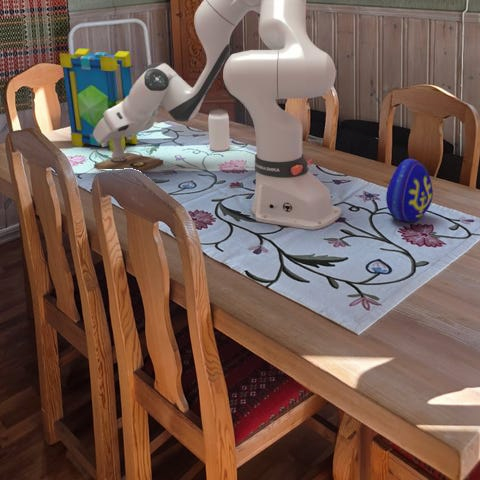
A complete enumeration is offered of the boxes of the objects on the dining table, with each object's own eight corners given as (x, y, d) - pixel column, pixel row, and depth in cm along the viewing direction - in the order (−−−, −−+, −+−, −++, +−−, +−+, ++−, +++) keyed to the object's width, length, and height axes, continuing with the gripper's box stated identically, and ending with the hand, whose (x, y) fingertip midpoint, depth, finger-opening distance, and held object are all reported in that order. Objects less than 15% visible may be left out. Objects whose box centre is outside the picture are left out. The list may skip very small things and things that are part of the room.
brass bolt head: (145, 163, 204) (145, 162, 204) (138, 166, 202) (138, 165, 201) (138, 162, 205) (138, 161, 205) (131, 164, 203) (131, 163, 203)
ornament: (405, 231, 158) (410, 169, 152) (376, 219, 165) (379, 159, 158) (436, 219, 164) (442, 159, 157) (407, 208, 170) (411, 149, 164)
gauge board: (163, 163, 207) (162, 159, 207) (130, 177, 197) (130, 172, 197) (127, 155, 215) (127, 152, 215) (94, 168, 205) (93, 164, 205)
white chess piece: (124, 162, 205) (121, 136, 202) (109, 162, 206) (106, 136, 203) (128, 157, 209) (125, 132, 206) (114, 157, 210) (111, 132, 207)
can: (233, 147, 220) (232, 110, 215) (222, 152, 216) (221, 115, 211) (217, 144, 224) (215, 108, 219) (205, 150, 219) (203, 113, 214)
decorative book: (119, 154, 217) (109, 58, 204) (63, 146, 227) (50, 53, 214) (145, 142, 228) (137, 50, 216) (90, 135, 238) (80, 46, 226)
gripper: (155, 98, 203) (136, 125, 213) (100, 112, 189) (82, 140, 199) (166, 115, 202) (147, 141, 212) (111, 130, 189) (94, 157, 199)
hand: (115, 141), depth 206 cm, fingers open, 8 cm apart
